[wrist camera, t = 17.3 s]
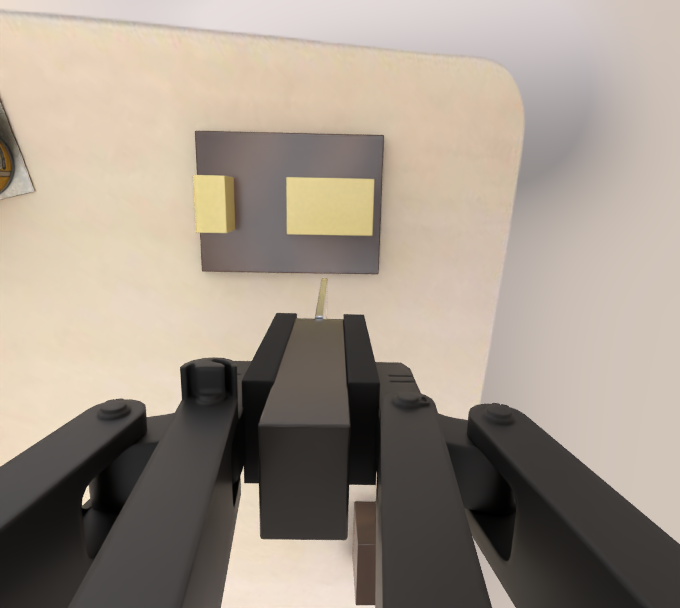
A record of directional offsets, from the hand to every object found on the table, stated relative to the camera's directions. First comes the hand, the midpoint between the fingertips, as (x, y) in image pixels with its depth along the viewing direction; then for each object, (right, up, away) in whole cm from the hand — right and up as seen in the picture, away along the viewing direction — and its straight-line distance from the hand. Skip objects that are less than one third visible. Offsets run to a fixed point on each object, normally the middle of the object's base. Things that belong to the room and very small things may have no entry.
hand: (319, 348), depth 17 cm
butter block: (0, +10, +23) cm, 25 cm away
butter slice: (-10, +10, +22) cm, 27 cm away
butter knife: (0, +2, +7) cm, 8 cm away
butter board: (-4, +11, +24) cm, 26 cm away
